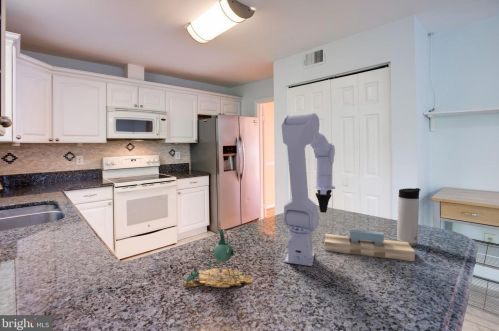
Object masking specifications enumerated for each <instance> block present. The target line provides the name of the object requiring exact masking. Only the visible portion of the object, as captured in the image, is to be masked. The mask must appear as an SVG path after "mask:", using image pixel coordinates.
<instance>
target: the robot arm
mask: <svg viewBox="0 0 499 331" xmlns="http://www.w3.org/2000/svg"><path fill="white" fill-rule="evenodd" d="M319 130H320V118H319V116H318V115H317V113H308V114H299V115H298V114H297V115H296V114H295V115H285V116H284V118H283V120H282V123H281V134H282V143H283V144H285V145H286V147H287V148H286V150H287V159H288V160H287V162H288V173H289V182H290V192H291V195H290V196H291V199H289V200H288V201H286V203H285V204H284V206H283V215H282V217H283V218H282V220H283V223H284V224H285V226H286V229H287V230H288V244H287V246H288V248H287V250H288V252H287V255H286V257H285V259H284V262H285V263H289V264H294V265H301V266H308V267H312V266H313V262H314V257H315V251H313V236H314V233H313V232H315V231H316V229H317V228H318V226H319V224H320V222H319V221H320V215H319V212H318V208H319V211H320V213H325V214H326V213H327V211H328V206H329V202H330V199H331V197H332V195H333V194H332V192H333V191H332V190H335V189H336V186H334V185H333V164H334V159H335V154H336V152H335V151H336V150H335V148H336V147H335V145H334V144H332V143H329V141H328V139H327V137H326V136H325V135H324V134H323V133H320V132H319ZM308 145H310V147H311V148H312V149H313V152H314V157H315V159H316V183H315V184H316V185H315V189H316V192H315V196H316V199H317V201H318V206H317V203H315V202H314V201H312V199H310V198H309V189H308V173H307V160H306V146H308Z"/></svg>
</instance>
